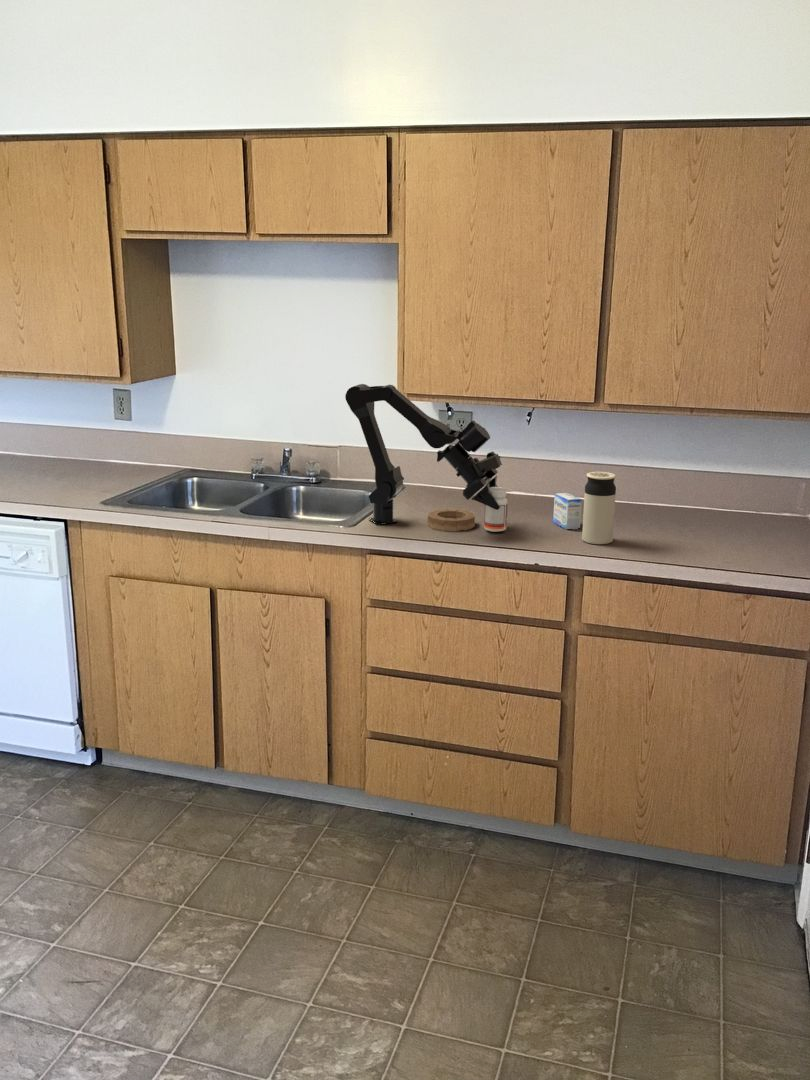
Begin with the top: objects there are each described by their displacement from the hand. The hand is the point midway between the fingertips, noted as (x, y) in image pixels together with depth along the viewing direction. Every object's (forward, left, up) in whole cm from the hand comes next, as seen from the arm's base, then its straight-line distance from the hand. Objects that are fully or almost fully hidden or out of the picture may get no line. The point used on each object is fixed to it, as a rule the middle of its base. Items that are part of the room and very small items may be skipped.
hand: (501, 506), depth 272 cm
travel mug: (+18, +19, -7) cm, 27 cm away
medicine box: (+2, +20, -8) cm, 22 cm away
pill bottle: (-1, -1, -7) cm, 7 cm away
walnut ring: (-12, -9, -7) cm, 16 cm away
